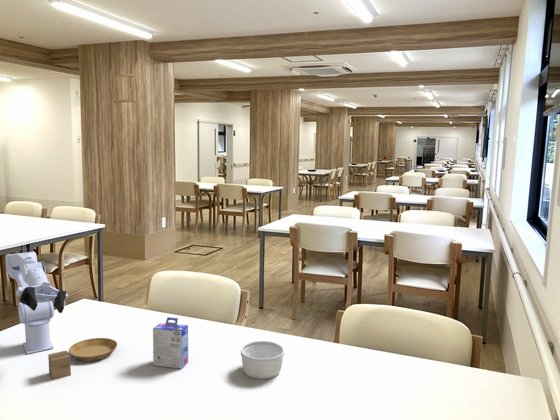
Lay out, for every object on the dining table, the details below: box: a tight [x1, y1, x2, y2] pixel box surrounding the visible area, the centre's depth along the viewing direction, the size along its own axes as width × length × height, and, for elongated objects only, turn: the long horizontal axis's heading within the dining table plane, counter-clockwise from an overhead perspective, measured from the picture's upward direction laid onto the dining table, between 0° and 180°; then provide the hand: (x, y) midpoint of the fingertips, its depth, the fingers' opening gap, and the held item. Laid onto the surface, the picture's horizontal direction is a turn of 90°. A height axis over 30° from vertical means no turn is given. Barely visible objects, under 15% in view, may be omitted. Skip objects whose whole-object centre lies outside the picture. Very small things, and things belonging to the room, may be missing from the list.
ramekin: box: [240, 340, 285, 380], centre depth 143 cm, size 13×13×7 cm
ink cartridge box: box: [152, 316, 189, 369], centre depth 147 cm, size 10×6×14 cm, turn 78°
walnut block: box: [47, 350, 72, 381], centre depth 139 cm, size 5×5×6 cm
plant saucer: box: [68, 337, 118, 362], centre depth 154 cm, size 15×15×3 cm
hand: (48, 308), depth 138 cm, fingers open, 7 cm apart
